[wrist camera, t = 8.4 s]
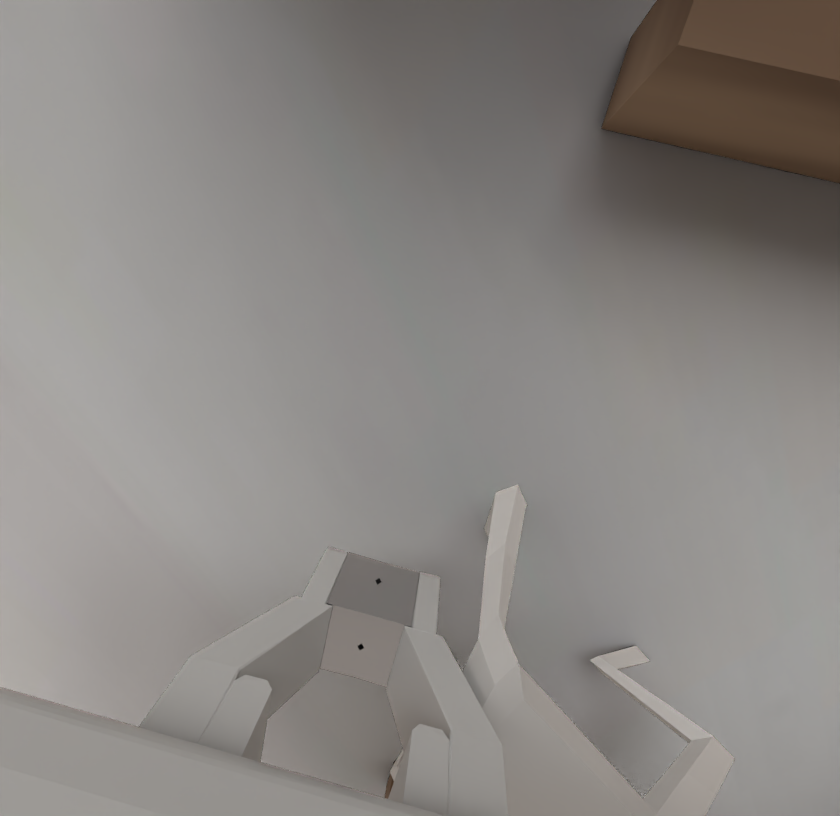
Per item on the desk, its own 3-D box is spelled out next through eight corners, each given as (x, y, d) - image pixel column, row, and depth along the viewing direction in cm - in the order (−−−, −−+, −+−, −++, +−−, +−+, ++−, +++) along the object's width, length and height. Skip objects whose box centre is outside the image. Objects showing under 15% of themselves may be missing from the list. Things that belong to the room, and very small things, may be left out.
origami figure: (700, 731, 13) (841, 991, 8) (461, 770, 14) (462, 1004, 10) (603, 406, 10) (737, 519, 5) (315, 503, 11) (215, 656, 7)
